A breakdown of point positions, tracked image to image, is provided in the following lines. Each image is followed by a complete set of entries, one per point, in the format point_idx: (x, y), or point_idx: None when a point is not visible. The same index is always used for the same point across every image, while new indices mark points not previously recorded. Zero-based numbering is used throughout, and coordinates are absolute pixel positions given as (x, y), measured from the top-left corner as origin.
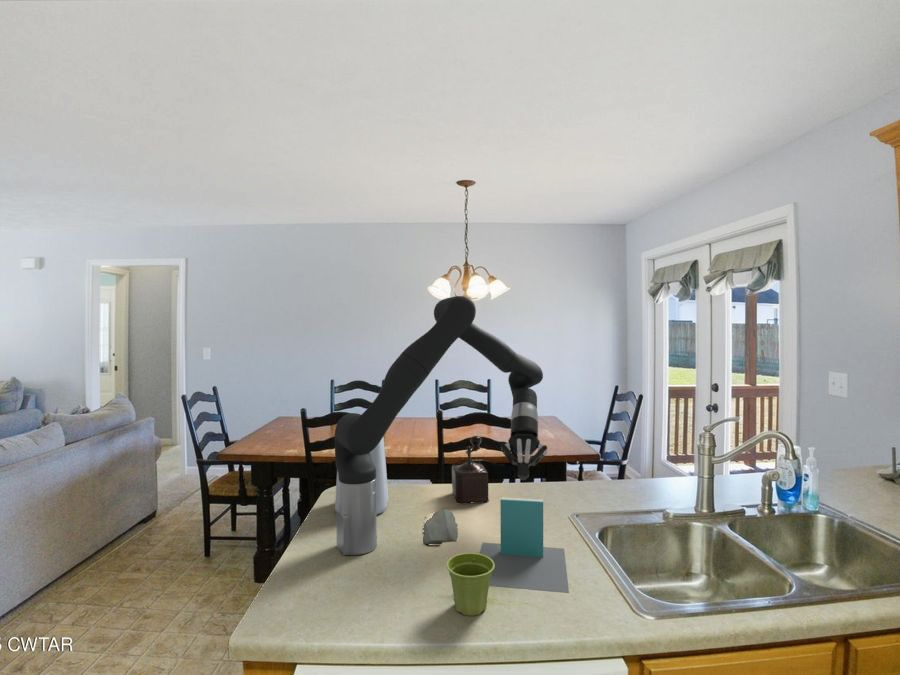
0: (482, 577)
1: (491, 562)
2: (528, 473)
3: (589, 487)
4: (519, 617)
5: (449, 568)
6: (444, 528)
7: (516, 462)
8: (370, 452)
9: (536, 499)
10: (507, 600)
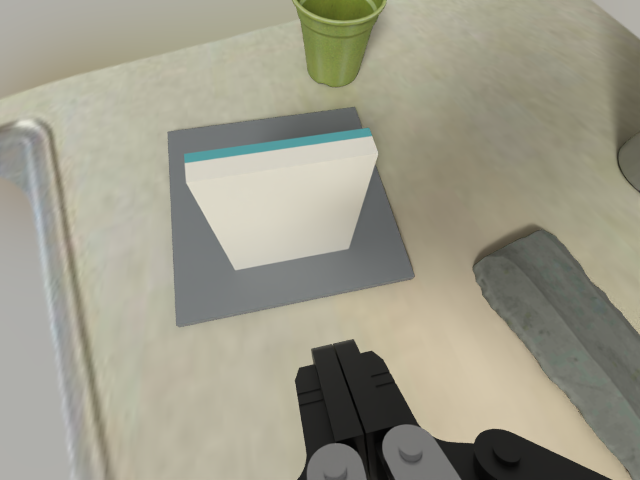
0: None
1: (302, 7)
2: (296, 381)
3: None
4: (251, 69)
5: None
6: (558, 304)
7: (446, 443)
8: None
9: (218, 176)
10: (280, 99)
